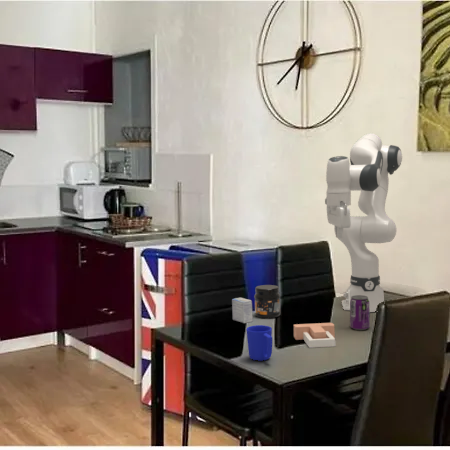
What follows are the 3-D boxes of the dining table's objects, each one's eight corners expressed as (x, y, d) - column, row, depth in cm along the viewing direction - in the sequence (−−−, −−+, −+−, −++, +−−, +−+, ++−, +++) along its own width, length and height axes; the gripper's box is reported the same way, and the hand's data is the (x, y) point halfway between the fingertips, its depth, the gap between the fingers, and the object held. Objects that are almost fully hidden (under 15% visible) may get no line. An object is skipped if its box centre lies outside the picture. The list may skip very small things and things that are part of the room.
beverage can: (369, 331, 240) (369, 299, 239) (350, 330, 241) (349, 298, 240) (369, 326, 247) (369, 295, 246) (350, 325, 248) (350, 294, 247)
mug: (259, 367, 202) (258, 336, 201) (242, 357, 213) (242, 327, 212) (282, 363, 205) (282, 332, 204) (265, 353, 216) (264, 324, 215)
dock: (303, 339, 232) (303, 332, 232) (328, 337, 233) (328, 331, 232) (309, 347, 221) (309, 340, 221) (335, 346, 222) (335, 339, 222)
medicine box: (252, 321, 259) (252, 300, 258) (243, 323, 256) (243, 302, 255) (241, 318, 265) (240, 297, 264) (232, 319, 263) (231, 298, 262)
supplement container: (249, 316, 268) (248, 287, 267) (268, 311, 275) (268, 283, 274) (266, 320, 260) (266, 290, 259) (286, 315, 267) (285, 287, 265)
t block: (293, 336, 236) (293, 324, 235) (332, 334, 237) (331, 322, 236) (300, 346, 224) (299, 333, 223) (340, 344, 225) (340, 331, 224)
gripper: (354, 202, 231) (355, 241, 232) (340, 198, 251) (340, 234, 252) (337, 202, 230) (337, 241, 231) (323, 199, 250) (324, 235, 252)
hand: (339, 237), depth 242 cm, fingers closed
